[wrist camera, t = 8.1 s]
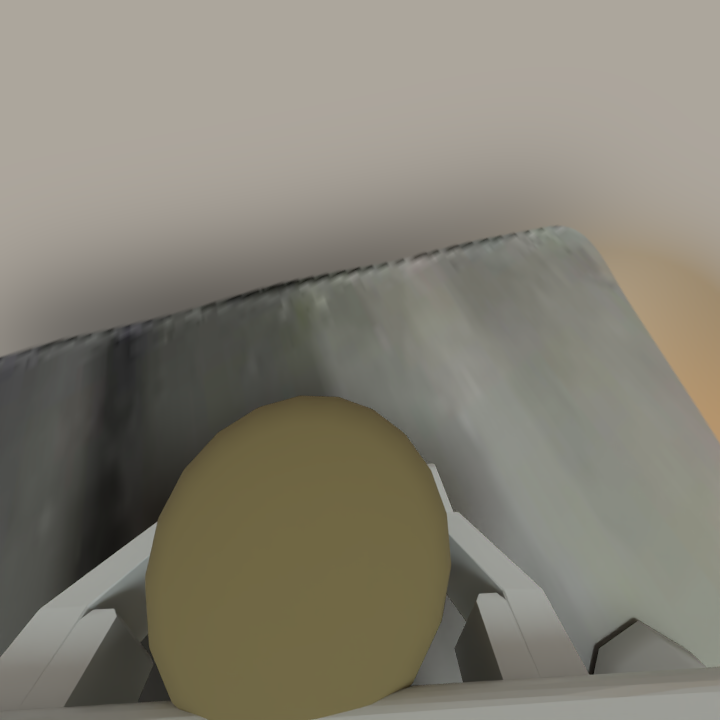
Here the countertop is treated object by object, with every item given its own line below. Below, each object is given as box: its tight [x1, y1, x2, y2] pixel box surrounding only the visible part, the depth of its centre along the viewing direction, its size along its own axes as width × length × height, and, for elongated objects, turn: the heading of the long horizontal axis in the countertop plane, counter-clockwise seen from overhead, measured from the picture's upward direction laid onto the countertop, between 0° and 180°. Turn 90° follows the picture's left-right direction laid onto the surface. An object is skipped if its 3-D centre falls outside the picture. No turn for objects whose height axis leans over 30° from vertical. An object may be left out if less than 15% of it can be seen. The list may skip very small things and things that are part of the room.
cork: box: [145, 396, 451, 720], centre depth 9 cm, size 6×6×11 cm
